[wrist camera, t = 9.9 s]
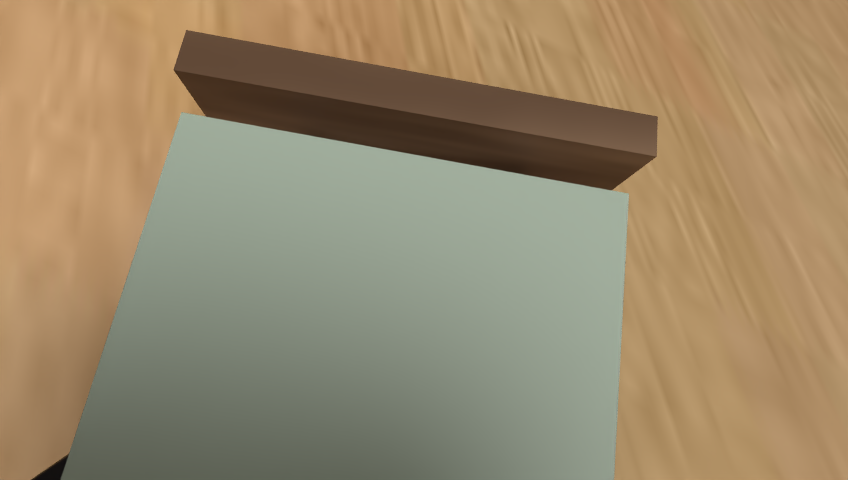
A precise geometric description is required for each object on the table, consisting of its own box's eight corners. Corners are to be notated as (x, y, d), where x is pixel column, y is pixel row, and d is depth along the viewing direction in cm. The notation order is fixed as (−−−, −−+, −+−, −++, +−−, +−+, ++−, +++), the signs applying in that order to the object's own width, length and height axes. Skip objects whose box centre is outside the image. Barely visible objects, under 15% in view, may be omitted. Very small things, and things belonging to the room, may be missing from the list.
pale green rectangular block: (420, 511, 15) (576, 1169, 3) (294, 491, 15) (-140, 1088, 3) (448, 322, 17) (628, 194, 4) (334, 303, 17) (180, 112, 4)
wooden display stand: (555, 493, 20) (646, 560, 13) (161, 437, 19) (41, 476, 12) (577, 178, 23) (658, 103, 17) (246, 120, 23) (190, 17, 16)
